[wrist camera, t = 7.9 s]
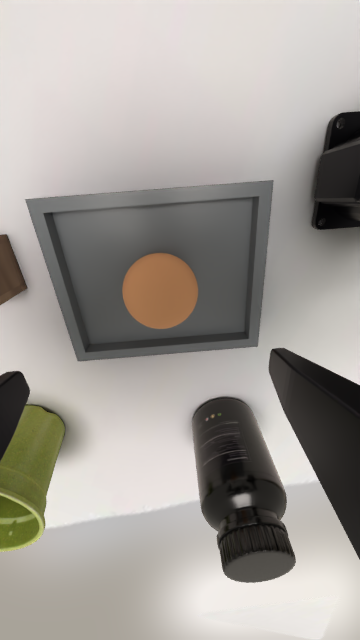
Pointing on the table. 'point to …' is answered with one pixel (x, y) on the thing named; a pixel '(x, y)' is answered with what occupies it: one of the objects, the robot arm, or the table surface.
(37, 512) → the plant pot
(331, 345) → the table surface
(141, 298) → the ball
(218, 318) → the tray
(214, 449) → the supplement bottle
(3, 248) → the brown wooden open cube
